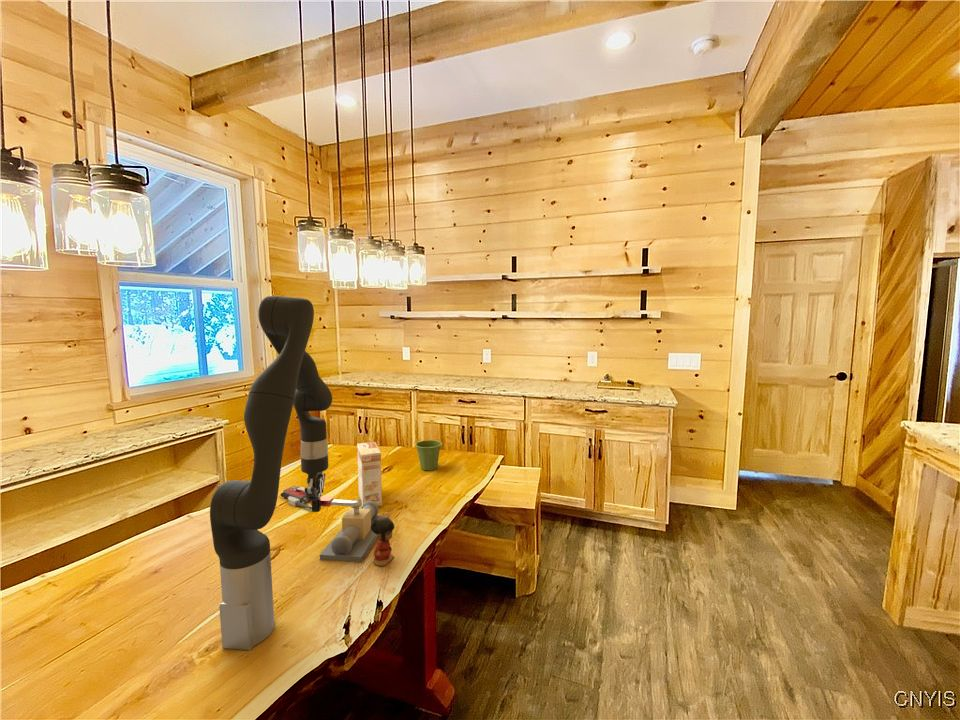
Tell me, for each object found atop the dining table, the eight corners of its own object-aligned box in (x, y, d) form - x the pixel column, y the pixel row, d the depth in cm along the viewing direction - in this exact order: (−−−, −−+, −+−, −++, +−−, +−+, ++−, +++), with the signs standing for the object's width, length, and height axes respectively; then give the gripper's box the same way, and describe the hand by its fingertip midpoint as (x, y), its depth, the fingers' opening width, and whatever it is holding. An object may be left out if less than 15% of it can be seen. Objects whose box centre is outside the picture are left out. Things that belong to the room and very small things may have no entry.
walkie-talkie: (275, 500, 154) (308, 513, 143) (274, 488, 153) (308, 501, 143) (296, 491, 161) (330, 503, 151) (295, 480, 161) (329, 492, 150)
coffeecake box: (382, 505, 148) (381, 452, 146) (362, 509, 145) (360, 455, 143) (377, 489, 162) (375, 441, 160) (358, 492, 159) (356, 443, 157)
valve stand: (361, 562, 114) (360, 527, 113) (319, 559, 115) (318, 525, 114) (388, 519, 138) (388, 490, 137) (354, 518, 139) (353, 489, 138)
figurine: (371, 568, 111) (370, 525, 110) (371, 557, 116) (370, 516, 115) (395, 564, 113) (394, 522, 111) (394, 553, 118) (393, 513, 117)
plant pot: (447, 466, 187) (447, 442, 186) (431, 475, 177) (430, 449, 176) (427, 461, 193) (426, 438, 192) (410, 469, 183) (409, 444, 182)
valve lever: (363, 504, 127) (363, 498, 126) (359, 509, 123) (359, 503, 123) (315, 501, 129) (315, 495, 128) (310, 506, 125) (309, 500, 125)
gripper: (321, 461, 116) (323, 520, 117) (333, 447, 129) (335, 500, 130) (293, 462, 115) (295, 522, 116) (308, 447, 128) (310, 501, 130)
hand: (316, 510), depth 123 cm, fingers closed
